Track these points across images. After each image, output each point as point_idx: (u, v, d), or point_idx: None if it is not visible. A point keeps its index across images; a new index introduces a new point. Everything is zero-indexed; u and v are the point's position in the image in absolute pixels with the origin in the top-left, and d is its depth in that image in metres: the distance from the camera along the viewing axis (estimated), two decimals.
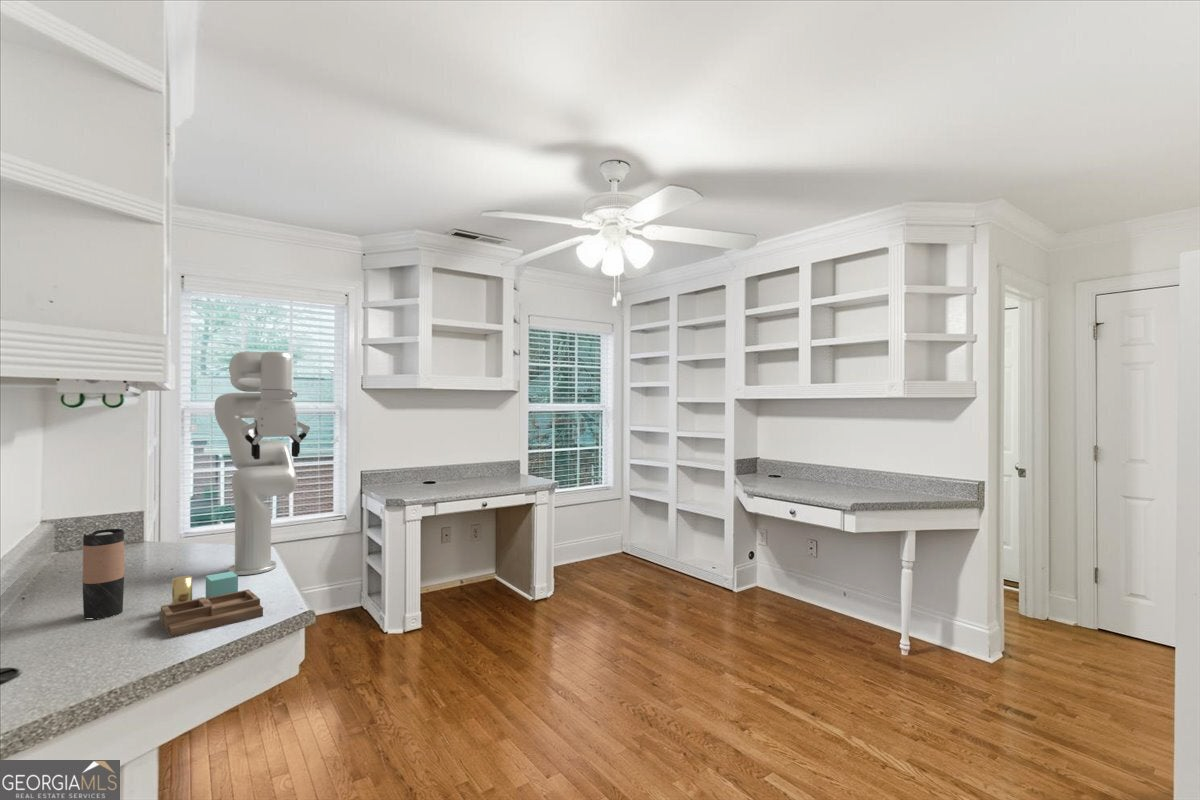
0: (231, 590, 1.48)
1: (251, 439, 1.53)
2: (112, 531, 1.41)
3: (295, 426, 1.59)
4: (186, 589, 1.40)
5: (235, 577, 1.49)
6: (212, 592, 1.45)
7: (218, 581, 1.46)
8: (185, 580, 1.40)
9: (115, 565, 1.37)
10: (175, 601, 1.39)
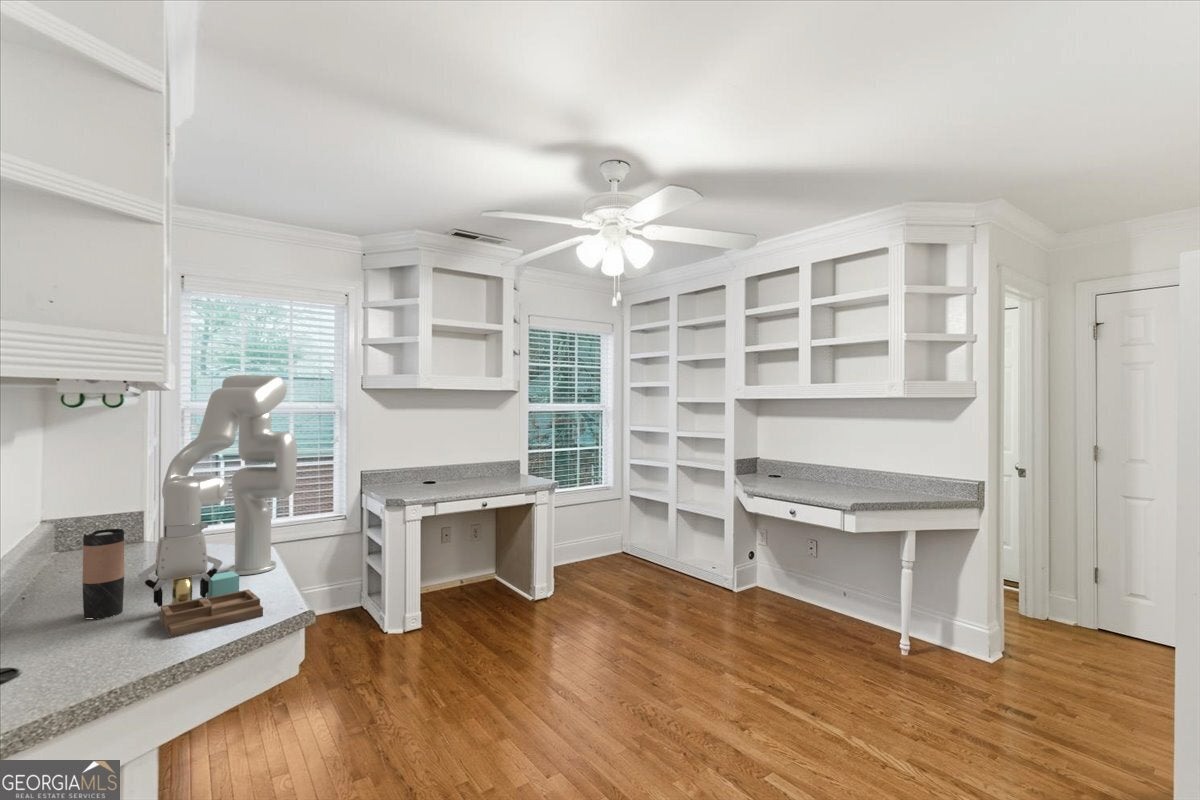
0: (232, 589, 1.49)
1: (152, 585, 1.36)
2: (112, 531, 1.41)
3: (204, 562, 1.42)
4: (186, 589, 1.40)
5: (236, 577, 1.49)
6: (213, 592, 1.46)
7: (220, 580, 1.47)
8: (185, 580, 1.40)
9: (115, 565, 1.37)
10: (175, 601, 1.39)
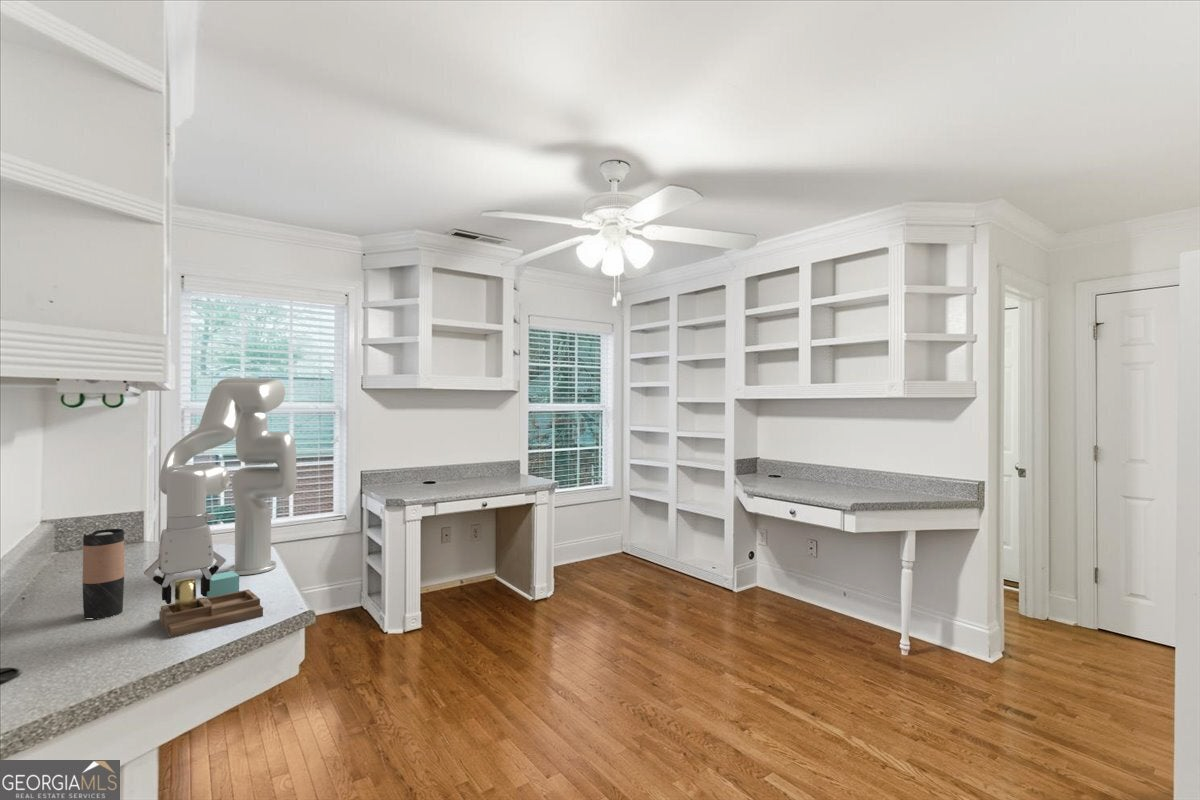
0: (232, 589, 1.49)
1: (159, 582, 1.28)
2: (112, 531, 1.41)
3: (210, 556, 1.34)
4: (189, 591, 1.32)
5: (236, 577, 1.50)
6: (214, 592, 1.46)
7: (220, 580, 1.47)
8: (188, 582, 1.32)
9: (115, 565, 1.37)
10: (178, 604, 1.31)
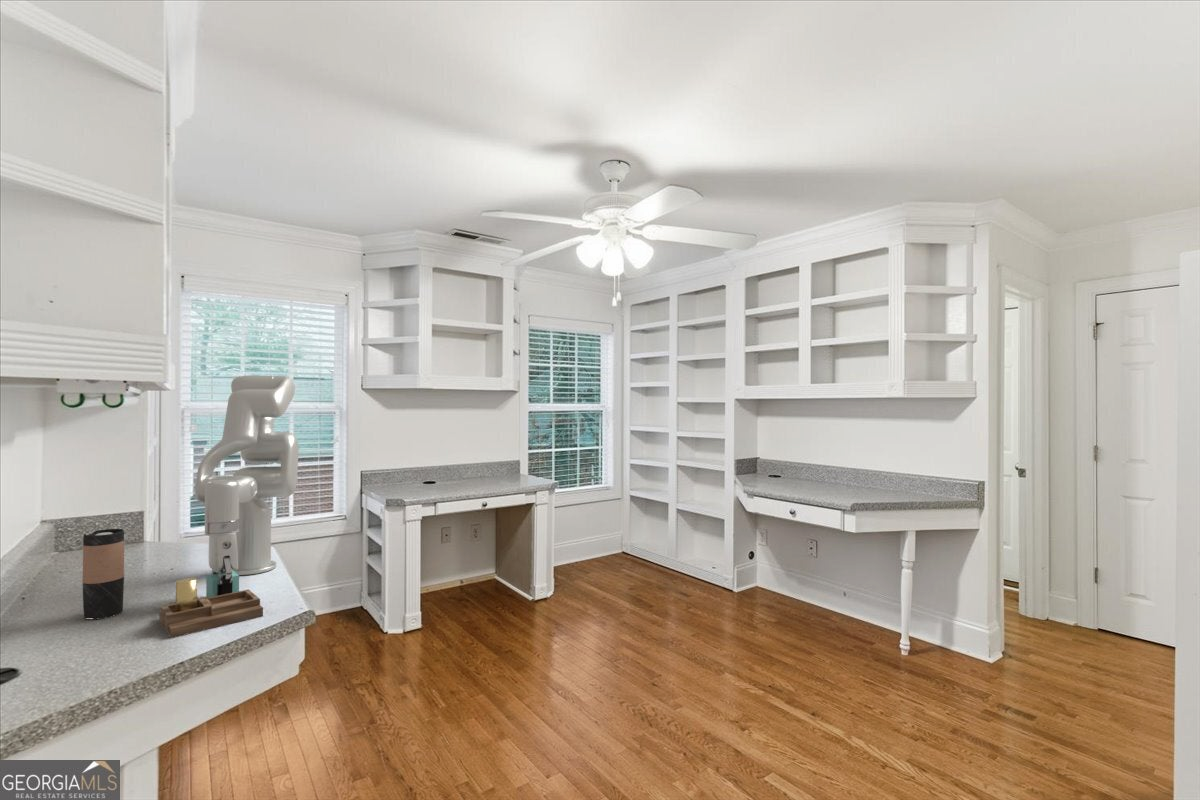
0: (232, 589, 1.49)
1: None
2: (112, 531, 1.41)
3: (216, 564, 1.45)
4: (190, 592, 1.32)
5: (236, 576, 1.49)
6: (213, 592, 1.46)
7: None
8: (189, 583, 1.31)
9: (115, 565, 1.37)
10: (179, 605, 1.31)
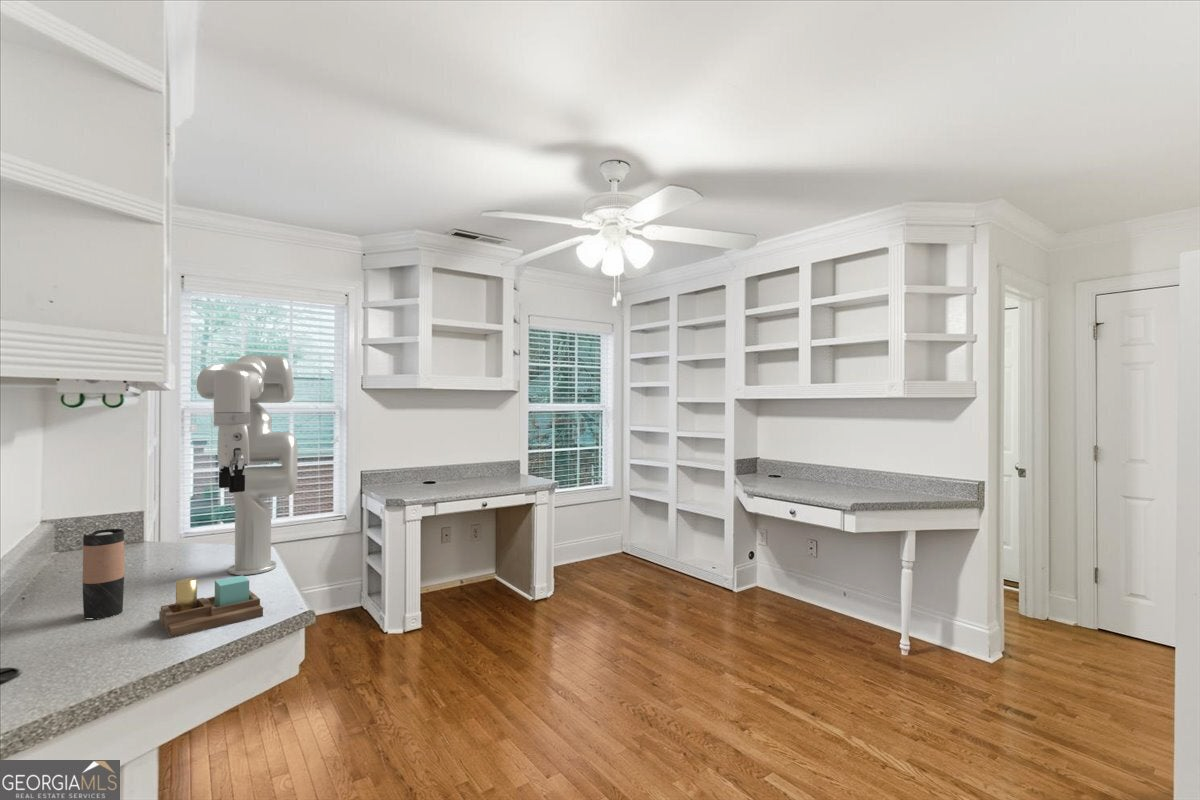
0: (242, 596, 1.38)
1: None
2: (112, 531, 1.41)
3: (226, 456, 1.35)
4: (190, 592, 1.32)
5: (246, 582, 1.39)
6: (221, 598, 1.35)
7: (228, 586, 1.36)
8: (189, 583, 1.31)
9: (115, 565, 1.37)
10: (179, 605, 1.31)
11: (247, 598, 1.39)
